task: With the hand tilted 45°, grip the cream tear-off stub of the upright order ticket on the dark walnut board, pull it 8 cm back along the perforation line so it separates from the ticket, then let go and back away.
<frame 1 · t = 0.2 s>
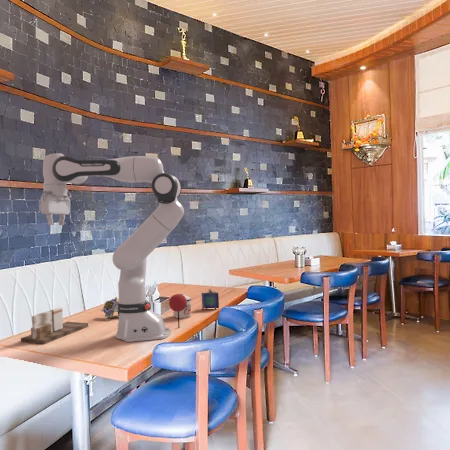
hand: (56, 225, 169), 48 cm above the table, tool pointing down, fingers open, 8 cm apart
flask: (210, 309, 215), on the table
ticket stub: (56, 319, 176), point 6 cm above the table, slide at 0.0 cm
lollipop: (178, 328, 180), on the table
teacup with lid: (183, 316, 201), on the table
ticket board: (52, 335, 173), on the table
passion flower: (115, 317, 203), on the table
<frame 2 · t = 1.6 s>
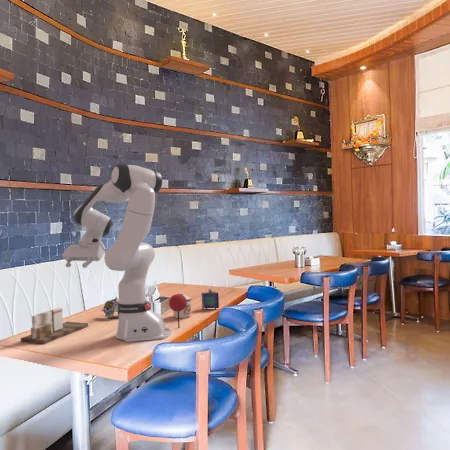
hand: (75, 266, 188), 28 cm above the table, tool tilted 45°, fingers open, 8 cm apart
nothing on the table moved.
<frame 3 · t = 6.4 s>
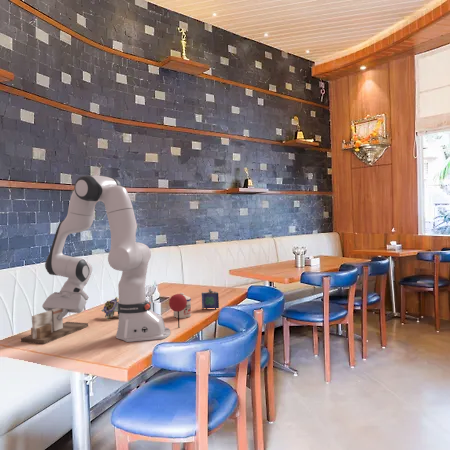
hand: (55, 319, 175), 6 cm above the table, tool tilted 45°, fingers closed, pressing on ticket stub
ticket stub: (56, 319, 176), point 6 cm above the table, slide at 0.0 cm, touching gripper
everything else where it was.
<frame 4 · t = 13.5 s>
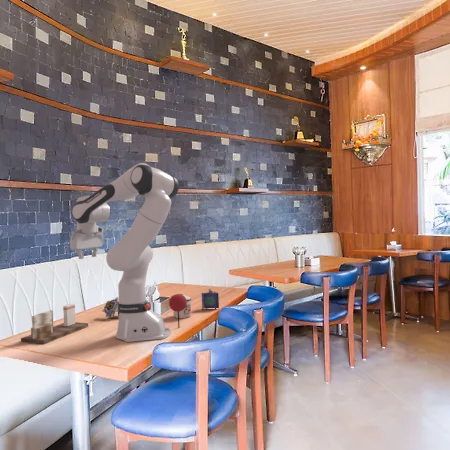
hand: (87, 257, 195), 31 cm above the table, tool pointing down, fingers open, 8 cm apart
ticket stub: (69, 314, 184), point 6 cm above the table, slide at 8.0 cm
everything else where it was.
at the end: ticket stub slide at 8.0 cm; the gripper is holding nothing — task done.
